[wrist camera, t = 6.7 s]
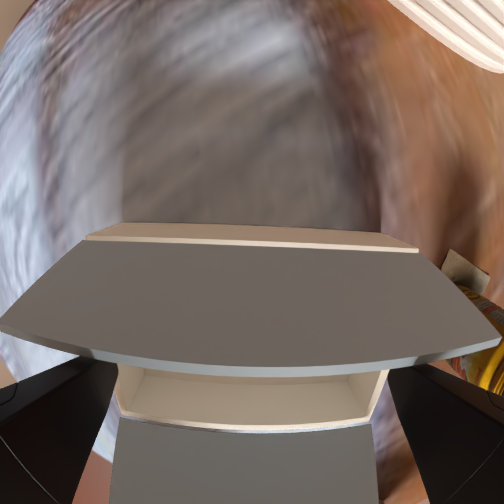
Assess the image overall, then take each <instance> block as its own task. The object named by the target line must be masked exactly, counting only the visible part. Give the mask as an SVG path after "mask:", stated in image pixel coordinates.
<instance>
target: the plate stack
mask: <svg viewBox="0 0 504 504" xmlns="http://www.w3.org/2000/svg"><path fill="white" fill-rule="evenodd" d="M388 1H389V2H390V3H391V4H393V5H394V6H395V7H396V8H398V9H399V10H400V11H401V12H402V13H404V14H405V15H406V16H407V17H409V18H410V19H411V20H412V21H414V22H415V23H416V24H418V25H419V26H420V27H421V28H423V29H424V30H425V31H427V32H428V33H429V34H431V35H432V36H433V37H435V38H436V39H437V40H439V41H440V42H441V43H443V44H444V45H446V46H447V47H449V48H450V49H451V50H453V51H454V52H456V53H457V54H459V55H460V56H462V57H464V58H465V59H467V60H468V61H470V62H472V63H474V64H476V65H478V66H480V67H482V68H484V69H486V70H489V71H492V72H496V73H504V0H388Z"/></svg>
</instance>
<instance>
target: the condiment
mask: <svg viewBox="0 0 504 504" xmlns="http://www.w3.org/2000/svg"><path fill="white" fill-rule="evenodd" d="M441 272H442V273H444V274H445V275H446V276H447V277H448V278H449V279H450V280H452V278H453V277H455V279H453V280H452V282H453V283H454V284H455V285H456V286H457V287H458V288H459V289H460V290H461V291H462V292H463V293H464V295H465V296H466V297H467V298H468V299H469V300H470V301H471V302H472V303H473V304H474V305H475V306H476V307H477V308H478V309H479V311H480V312H481V313H482V314H483V315H484V316H485V317H486V318H487V320H488V321H489V322H490V323H491V324H492V325H493V326H494V328H495V329H496V330H497V331H498V332H499V334H500V335H501V336H502V339H501V340H500V342H499V344H498V345H497V346H494V347H491V348H487V349H484V350H480V351H477V352H473V353H469V354H465V355H461V356H457V357H453V358H449V359H445V360H446V361H447V362H448V364H449V365H450V366H451V367H452V368H453V369H454V370H455V371H456V372H457V373H458V374H459V375H460V376H461V377H462V378H463V379H464V380H465V381H467V382H470V383H472V384H474V385H477V386H479V387H481V388H484V389H485V390H489V391H491V392H493V393H496V394H498V395H501V396H503V397H504V310H503V309H502V308H501V307H499V306H497V305H496V304H494V303H493V302H491V301H490V300H488V299H486V298H485V297H483V296H482V294H483V292H484V291H485V289H486V287H487V285H488V282H489V280H490V277H489V276H488V275H486V274H485V273H484V272H482V271H481V270H480V269H478V268H477V267H476V266H474V265H473V264H472V263H470V262H469V261H467V260H466V259H465V258H463V257H462V256H460V255H459V254H457V253H456V252H455V251H453V250H452V249H451V248H450V249H449V252H448V254H447V257H446V259H445V261H444V263H443V265H442V268H441Z"/></svg>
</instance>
